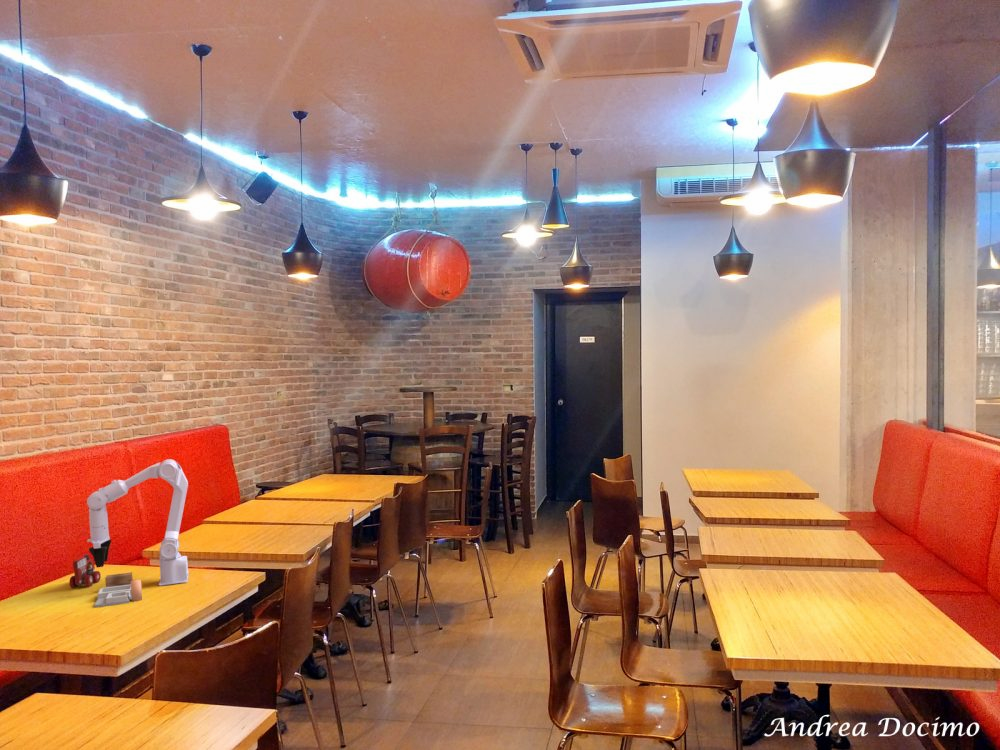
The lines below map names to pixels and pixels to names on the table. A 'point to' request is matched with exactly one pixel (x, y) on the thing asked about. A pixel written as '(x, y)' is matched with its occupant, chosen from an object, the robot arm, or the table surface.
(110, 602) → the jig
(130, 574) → the tan rectangular block
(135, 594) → the tail peg
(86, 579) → the toy fire truck
